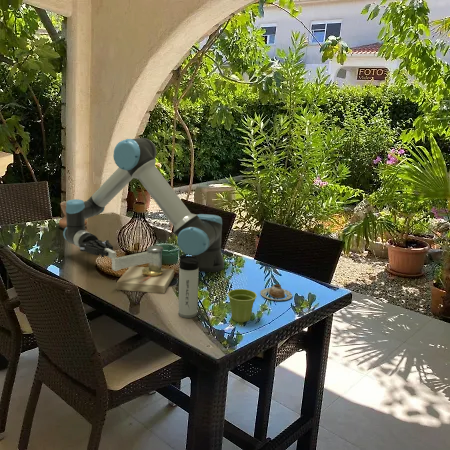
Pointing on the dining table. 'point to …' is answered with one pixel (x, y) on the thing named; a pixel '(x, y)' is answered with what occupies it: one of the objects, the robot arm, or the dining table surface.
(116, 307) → the dining table surface
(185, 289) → the travel mug
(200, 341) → the dining table surface
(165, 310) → the dining table surface
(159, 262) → the grey lever handle
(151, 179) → the robot arm
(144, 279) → the stand
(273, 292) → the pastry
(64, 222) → the ceramic jug
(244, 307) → the plant pot
